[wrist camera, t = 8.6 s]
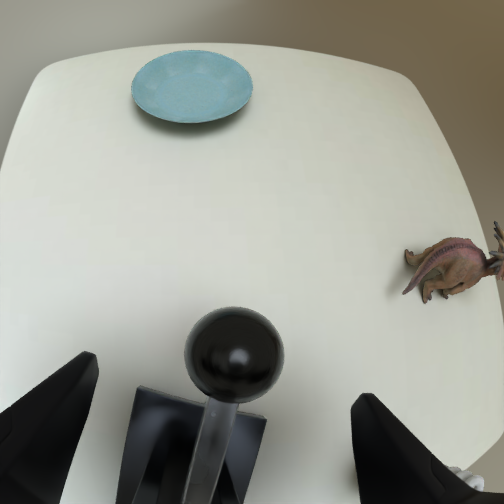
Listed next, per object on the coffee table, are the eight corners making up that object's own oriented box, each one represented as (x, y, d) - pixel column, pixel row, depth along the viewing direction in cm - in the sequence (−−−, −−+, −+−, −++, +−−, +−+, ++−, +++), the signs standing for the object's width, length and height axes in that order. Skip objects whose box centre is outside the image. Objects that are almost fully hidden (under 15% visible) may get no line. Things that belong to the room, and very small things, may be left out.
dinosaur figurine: (465, 246, 28) (523, 216, 19) (474, 296, 26) (537, 274, 17) (377, 243, 25) (446, 198, 16) (386, 308, 23) (466, 284, 15)
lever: (199, 298, 12) (198, 289, 9) (280, 320, 13) (309, 319, 9) (145, 532, 9) (136, 573, 5) (213, 546, 9) (219, 588, 6)
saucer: (169, 56, 28) (169, 41, 26) (263, 82, 29) (268, 67, 27) (111, 119, 24) (107, 103, 22) (222, 155, 25) (226, 139, 23)
